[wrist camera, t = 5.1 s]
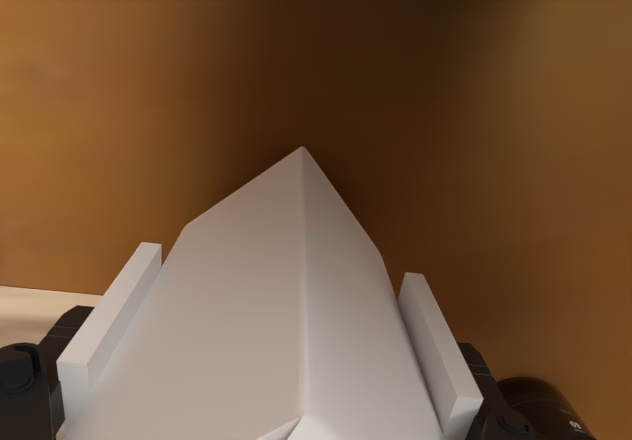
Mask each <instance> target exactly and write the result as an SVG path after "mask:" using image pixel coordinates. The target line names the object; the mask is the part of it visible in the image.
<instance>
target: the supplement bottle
mask: <svg viewBox="0 0 632 440" xmlns="http://www.w3.org/2000/svg"><path fill="white" fill-rule="evenodd" d="M497 385H498V387H499V389H500V391H501V393H502V395H503V396H504V398H505V400H506V402H507V404H508V406H509V407H510V409H513V410H515V411H517V412H518V413H520V414H522V415H523V416H524V417H525V418H526V419H527V420H528V421H529V422H530V423H531V425H532V426H533V428H534V431H537V432H539V433H542V434H544V435H547V436H550V437H553V438H556V439H559V440H563V438H564V437H565V435H566V434H567V433H568V432H572V431H577V432H583V433H585V434H587V435H590V436H592V437H594V436H593V434H592V433H591V432H590V430H589V429H588V427H587V426H586V425H585V423H584V422H583V421H582V419H581V418H580V417H579V415H578V414H577V413H576V411H575V410H574V408H573V407H572V406H571V405H570V403H569V402H568V401H567V399H566V398H565V397H564V395H563V394H562V393H561V392H560V391H559V390H558V389H557V388H556V387H555V386H553V385H552V384H550V383H548V382H546V381H543V380H540V379H535V378H515V379H510V380H506V381H503V382H501V383H498V384H497ZM594 438H595V437H594ZM595 439H596V438H595Z"/></svg>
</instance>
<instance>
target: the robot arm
mask: <svg viewBox="0 0 632 440" xmlns="http://www.w3.org/2000/svg"><path fill="white" fill-rule="evenodd" d="M161 256H162V244H156V243H147V242H141V244H140V245H139V247H138V248H137V249H136V251H135V252H134V254H133V255H132V256H131V258H130V259H129V261H128V262H127V263H126V265H125V266H124V268H123V269H122V270H121V272H120V273H119V274H118V276H117V277H116V279H115V280H114V281H113V283H112V284H111V286H110V287H109V288H108V290H107V291H106V293H105V294H104V295H103V297H102V298H101V300H100V301H99V302H98V304H97V305H96V307H91V306H81V305H76V306H75V307H73V308H72V309H70V310H68V311H67V312H65V313H64V314H62V316H61V317H60V318H59V319H58V321H57V322H56V323H55V324H54V327H52V328H51V329H50V330H49V332H48V333H47V335H46V336H45V337H44V338H43V339H42V340H41V342H40V343H39V344H38V345H36V344H34V343H27V342H23V343H14V344H11V345H7V346H4V347H1V348H0V440H56V434H57V433H58V431H59V429H60V428H61V426H62V424H63V423H64V427H65V435H66V434H67V432H68V431H69V429H70V427H71V425H72V424H73V422H74V420H75V418H76V416H77V415H78V413H79V411H80V409H81V408H82V406H83V404H84V402H85V401H86V399H87V397H88V396H89V395H90V393H91V391H92V389H93V388H94V386H95V384H96V382H97V381H98V379H99V377H100V375H101V374H102V372H103V370H104V368H105V366H106V365H107V363H108V361H109V359H110V358H111V356H112V354H113V352H114V351H115V349H116V347H117V345H118V343H119V342H120V340H121V338H122V336H123V335H124V333H125V331H126V329H127V328H128V326H129V324H130V322H131V321H132V319H133V317H134V315H135V313H136V312H137V310H138V308H139V306H140V305H141V303H142V301H143V299H144V298H145V296H146V294H147V292H148V290H149V289H150V287H151V285H152V283H153V282H154V280H155V278H156V276H157V275H158V273H159V271H160V269H161ZM397 302H398V305H399V308H400V311H401V314H402V317H403V320H404V323H405V326H406V328H407V331H408V334H409V337H410V340H411V343H412V346H413V349H414V351H415V354H416V357H417V360H418V363H419V366H420V369H421V372H422V375H423V377H424V380H425V383H426V386H427V389H428V392H429V395H430V398H431V401H432V403H433V406H434V409H435V412H436V415H437V418H438V421H439V424H440V427H441V429H442V432H443V435H444V438H445V440H559V439H556V438H553V437H550V436H547V435H544V434H542V433H539V432H537V431H534V428H533V426H532V425H531V423H530V422H529V421H528V420H527V419H526V418H525V417H524V416H523V415H522V414H520V413H518V412H517V411H515V410H513V409H510V407H509V406H508V404H507V402H506V400H505V398H504V396H503V395H502V393H501V391H500V389H499V387H498V385H497V384H496V382H495V380H494V378H493V377H492V376H491V372H490V371H489V369H488V367H486V363H485V361H484V360H483V358H482V356H481V354H480V353H479V352H478V351H477V350H476V349H475V348H474V347H473V346H472V345H471V344H470V343H460V342H456V341H455V339H454V337H453V335H452V333H451V331H450V329H449V327H448V325H447V323H446V321H445V318H444V316H443V314H442V312H441V310H440V308H439V306H438V304H437V302H436V300H435V298H434V296H433V294H432V292H431V290H430V288H429V286H428V284H427V282H426V279H425V277H424V275H423V274H417V273H409V272H405V275H404V279H403V282H402V286H401V290H400V293H399V297H398V301H397ZM563 440H597V439H595V438H594V437H592V436H590V435H587V434H585V433H583V432H577V431H572V432H568V433H567V434H566V435H565V437H564V438H563Z"/></svg>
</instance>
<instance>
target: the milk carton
mask: <svg viewBox="0 0 632 440" xmlns="http://www.w3.org/2000/svg"><path fill="white" fill-rule="evenodd" d="M63 440H445V438H444V435H443V432H442V429H441V427H440V424H439V421H438V418H437V415H436V412H435V409H434V406H433V403H432V401H431V398H430V395H429V392H428V389H427V386H426V383H425V380H424V377H423V375H422V372H421V369H420V366H419V363H418V360H417V357H416V354H415V351H414V349H413V346H412V343H411V340H410V337H409V334H408V331H407V328H406V326H405V323H404V320H403V317H402V314H401V311H400V308H399V305H398V302H397V299H396V297H395V294H394V291H393V288H392V285H391V282H390V279H389V276H388V273H387V271H386V268H385V265H384V262H383V259H382V256H381V254H380V252H379V251H378V249H377V248H376V246H375V245H374V243H373V242H372V241H371V239H370V238H369V236H368V235H367V233H366V232H365V231H364V229H363V228H362V226H361V225H360V224H359V222H358V221H357V219H356V218H355V217H354V215H353V214H352V212H351V211H350V210H349V208H348V207H347V205H346V204H345V202H344V201H343V200H342V198H341V197H340V195H339V194H338V193H337V191H336V190H335V188H334V187H333V186H332V184H331V183H330V181H329V180H328V179H327V177H326V176H325V174H324V173H323V172H322V170H321V169H320V167H319V166H318V164H317V163H316V162H315V160H314V159H313V157H312V156H311V155H310V153H309V152H308V151H307V150H306V148H305V147H303V146H302V147H300V148H298V149H297V150H295V151H294V152H292V153H291V154H289V155H288V156H287V157H285V158H284V159H282V160H281V161H279V162H278V163H276V164H275V165H273V166H272V167H270V168H269V169H267V170H266V171H264V172H263V173H262V174H260V175H259V176H257V177H256V178H254V179H253V180H251V181H250V182H248V183H247V184H245V185H244V186H243V187H241V188H240V189H238V190H237V191H235V192H234V193H232V194H231V195H229V196H228V197H226V198H225V199H223V200H222V201H221V202H219V203H218V204H216V205H215V206H213V207H212V208H210V209H209V210H207V211H206V212H204V213H203V214H201V215H200V216H199V217H197V218H196V219H194V220H193V221H191V222H190V223H188V224H187V225H186V226H185V227H184V228H183V230H182V232H181V234H180V235H179V237H178V239H177V241H176V242H175V244H174V246H173V248H172V249H171V251H170V253H169V255H168V256H167V258H166V260H165V262H164V263H163V265H162V267H161V269H160V271H159V273H158V275H157V276H156V278H155V280H154V282H153V283H152V285H151V287H150V289H149V290H148V292H147V294H146V296H145V298H144V299H143V301H142V303H141V305H140V306H139V308H138V310H137V312H136V313H135V315H134V317H133V319H132V321H131V322H130V324H129V326H128V328H127V329H126V331H125V333H124V335H123V336H122V338H121V340H120V342H119V343H118V345H117V347H116V349H115V351H114V352H113V354H112V356H111V358H110V359H109V361H108V363H107V365H106V366H105V368H104V370H103V372H102V374H101V375H100V377H99V379H98V381H97V382H96V384H95V386H94V388H93V389H92V391H91V393H90V395H89V396H88V397H87V399H86V401H85V402H84V404H83V406H82V408H81V409H80V411H79V413H78V415H77V416H76V418H75V420H74V422H73V424H72V425H71V427H70V429H69V431H68V432H67V434H66V436H65V438H64V439H63Z"/></svg>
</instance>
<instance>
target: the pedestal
mask: <svg viewBox="0 0 632 440" xmlns="http://www.w3.org/2000/svg"><path fill="white" fill-rule="evenodd" d="M102 297H103V296H101V295H91V294H80V293H69V292H59V291H48V290H38V289H27V288H16V287H6V286H0V348H1V347H4V346H7V345H11V344H14V343H23V342H27V343H34V344H36V345H38V344H39V343H40V342H41V340H42V339H43V338H44V337H45V336H46V335H47V333H48V332H49V330H50V329H51V328H52V327H54V324H55V323H56V322H57V321H58V319H59V318H60V317H61V316H62V314H64V313H65V312H67V311H68V310H70V309H72V308H73V307H75V306H76V305H81V306H91V307H96V305H97V304H98V302H99V301H100V300H101V298H102ZM65 436H66V435H65V427H64V423H63V424H62V426H61V428H60V429H59V431H58V433H57V434H56V440H63V439H64V438H65Z"/></svg>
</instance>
